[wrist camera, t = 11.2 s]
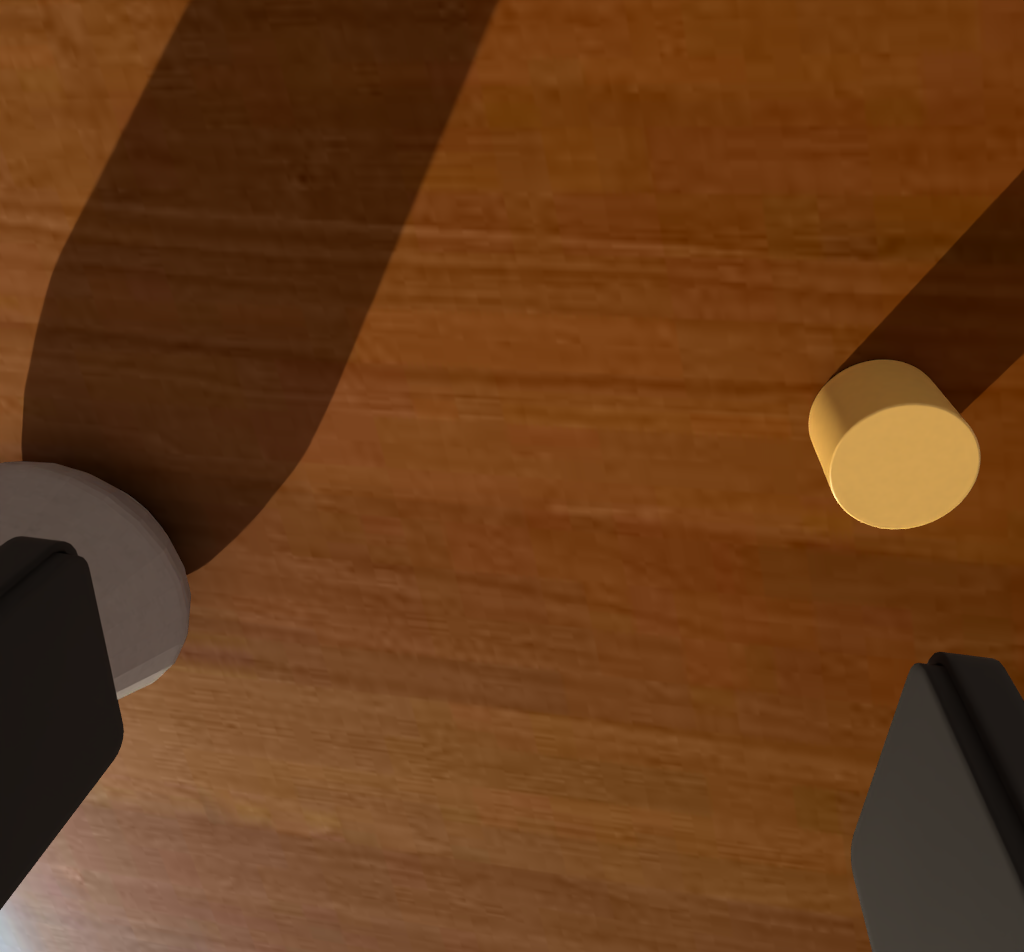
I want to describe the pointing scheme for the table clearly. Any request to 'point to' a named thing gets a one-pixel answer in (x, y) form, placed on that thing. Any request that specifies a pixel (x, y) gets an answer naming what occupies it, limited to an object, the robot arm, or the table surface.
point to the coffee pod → (892, 445)
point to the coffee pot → (107, 561)
